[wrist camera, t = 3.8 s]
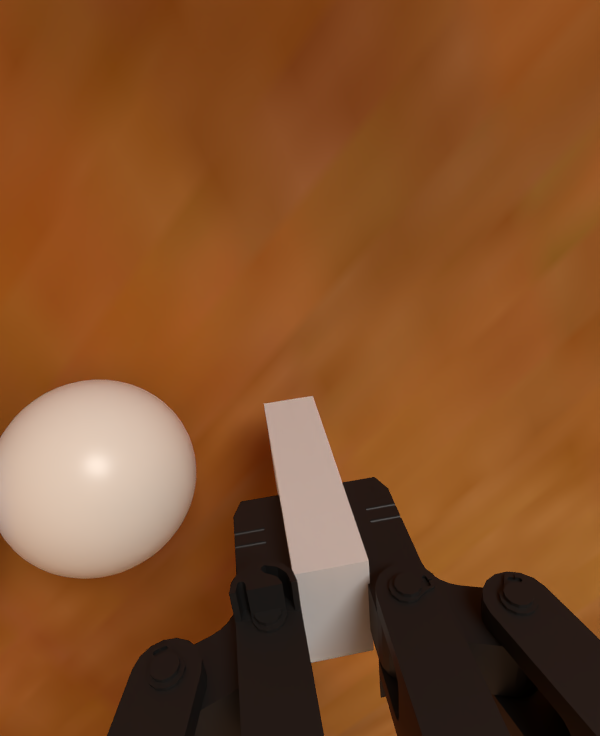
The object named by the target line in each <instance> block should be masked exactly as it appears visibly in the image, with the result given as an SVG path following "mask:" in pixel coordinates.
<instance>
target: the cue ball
mask: <svg viewBox="0 0 600 736" xmlns="http://www.w3.org/2000/svg"><path fill="white" fill-rule="evenodd" d="M195 483H196V460H195V454H194V450H193V446H192V443H191V440H190V437H189V435H188V433H187V431H186V429H185V427H184V426H183V424H182V422H181V421H180V419H179V418H178V417H177V415H176V414H175V413H174V412H173V411H172V410H171V409H170V408H169V407H168V406H167V405H166V404H165V403H164V402H163V401H162V400H160V399H159V398H157V397H156V396H155V395H153V394H151V393H149V392H147V391H146V390H144V389H142V388H139V387H136V386H134V385H131V384H128V383H124V382H120V381H112V380H87V381H80V382H75V383H70V384H67V385H64V386H61V387H58V388H56V389H54V390H52V391H49V392H47V393H45V394H44V395H42V396H40V397H39V398H37V399H36V400H34V401H33V402H32V403H30V404H29V405H28V406H27V407H25V408H24V409H23V410H22V411H21V412H20V413H19V414H18V415H17V416H16V417H15V418H14V419H13V420H12V422H11V423H10V424H9V426H8V427H7V428H6V430H5V431H4V433H3V434H2V436H1V438H0V533H1V535H2V536H3V538H4V540H5V541H6V542H7V543H8V544H9V545H10V546H11V548H12V549H13V550H14V551H15V552H16V553H17V554H18V555H19V556H21V557H22V558H23V559H24V560H26V561H27V562H29V563H31V564H32V565H34V566H36V567H38V568H39V569H42V570H44V571H46V572H49V573H52V574H55V575H59V576H64V577H70V578H82V579H87V578H100V577H106V576H110V575H114V574H118V573H121V572H124V571H126V570H128V569H131V568H133V567H135V566H137V565H139V564H140V563H142V562H144V561H145V560H147V559H148V558H150V557H151V556H153V555H154V554H155V553H157V552H158V551H159V550H160V549H161V548H162V547H163V546H164V545H165V544H166V543H167V542H168V541H169V540H170V539H171V538H172V536H173V535H174V534H175V533H176V531H177V530H178V529H179V527H180V525H181V524H182V522H183V520H184V518H185V516H186V514H187V512H188V510H189V508H190V505H191V502H192V498H193V495H194V490H195Z"/></svg>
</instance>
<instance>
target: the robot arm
mask: <svg viewBox="0 0 600 736" xmlns="http://www.w3.org/2000/svg"><path fill="white" fill-rule="evenodd" d="M264 407H265V414H266V420H267V427H268V434H269V440H270V447H271V454H272V460H273V467H274V474H275V480H276V486H277V492H278V495H276V496H271V497H265V498H259V499H253V500H248V501H242V502H241V503H240V505H239V507H238V509H237V511H236V513H235V515H234V534H235V555H236V577H235V578H234V579H233V581H232V582H231V586H230V592H229V596H230V600H231V605H232V609H233V613H234V614H233V616H232V617H231V619H230V620H229V622H228V623H227V624H226V625H225V626H224V627H223V628H222V629H221V630H219V631H218V632H216V633H215V634H213V635H212V636H210V637H208V638H206V639H204V640H202V641H200V642H198V643H196V644H195V645H193V644H192V643H191V642H190V641H188V640H183V639H179V638H174V639H168V640H163V641H161V642H159V643H157V644H155V645H153V646H151V647H150V648H149V649H148V650H147V651H146V652H144V653H143V654H142V655H141V656H140V657H139V659H138V661H137V662H136V664H135V666H134V668H133V669H132V672H131V674H130V677H129V679H128V682H127V685H126V687H125V690H124V693H123V695H122V698H121V701H120V703H119V706H118V708H117V711H116V714H115V716H114V719H113V722H112V724H111V727H110V729H109V732H108V735H107V736H324V733H323V728H322V722H321V716H320V711H319V705H318V700H317V694H316V688H315V683H314V677H313V672H312V666H311V663H312V662H317V661H322V660H327V659H332V658H336V657H341V656H346V655H351V654H356V653H361V652H366V651H371V650H373V640H374V644H375V647H376V651H377V654H378V657H379V675H380V692H381V697H386V698H387V702H388V705H389V709H390V712H391V716H392V719H393V723H394V726H395V729H396V733H397V736H600V640H599V639H598V638H597V637H596V636H595V635H594V634H593V633H592V632H591V631H590V630H589V629H588V628H587V627H586V626H585V625H584V624H583V623H582V622H581V621H580V620H579V619H578V618H577V617H576V616H575V615H574V614H573V613H572V612H571V611H570V610H569V609H568V608H567V607H566V606H565V605H564V604H562V603H561V602H560V601H559V600H558V599H557V598H556V597H555V596H554V595H553V594H552V593H551V592H550V591H549V590H548V589H547V588H546V587H545V586H544V585H542V584H541V583H540V582H538V581H537V580H536V579H534V578H532V577H530V576H527V575H524V574H522V573H516V572H503V573H499V574H495V575H493V576H492V577H491V578H489V579H488V580H487V581H486V583H485V585H484V587H483V588H481V587H470V586H460V585H455V584H450V583H447V582H445V581H442V580H440V579H438V578H437V577H435V576H434V575H433V574H432V573H431V572H429V571H428V570H427V569H426V568H425V567H424V565H423V564H422V562H421V560H420V558H419V556H418V554H417V552H416V549H415V547H414V545H413V543H412V541H411V538H410V536H409V534H408V532H407V530H406V527H405V525H404V523H403V521H402V519H401V518H400V514H399V512H398V510H397V507H396V506H395V503H394V501H393V499H392V496H391V494H390V492H389V490H388V488H387V487H386V486H384V485H383V484H382V483H381V482H380V481H378V480H377V479H376V478H375V477H372V478H366V479H360V480H355V481H349V482H343V483H342V481H341V478H340V475H339V472H338V469H337V466H336V463H335V460H334V457H333V454H332V451H331V448H330V445H329V442H328V440H327V437H326V434H325V431H324V428H323V425H322V422H321V419H320V416H319V413H318V410H317V407H316V404H315V401H314V398H313V396H310V397H303V398H297V399H291V400H285V401H278V402H272V403H266V404H264Z"/></svg>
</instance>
